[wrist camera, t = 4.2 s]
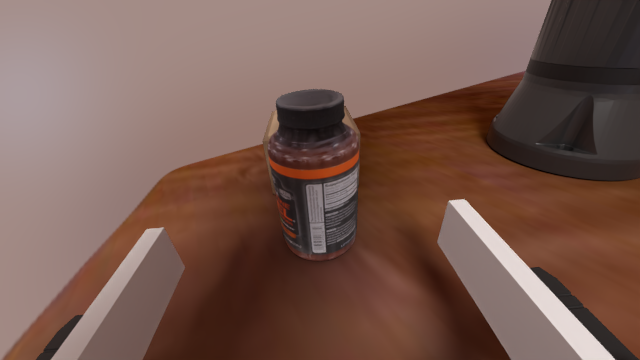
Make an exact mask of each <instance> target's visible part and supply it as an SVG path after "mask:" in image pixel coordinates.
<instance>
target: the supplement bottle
mask: <svg viewBox="0 0 640 360" xmlns="http://www.w3.org/2000/svg"><path fill="white" fill-rule="evenodd" d="M276 108H277V120H278V122H279V127H278V130H276V131H275V133H273V134H272V136H271V137H270V139H269V142H268V145H267V146H268V156H269V161H270V168H271V174H272V178H273V184H274V188H275V193H276V199H277V204H278V210H279V215H280V219H281V225H282V230H283V236H284V238H285V241H286V244H287V246H288V247H289V249H290V250H291V251H292V252H293V253H295V254H296V255H297V256H299V257H301V258H303V259H306V260H312V261H325V260H330V259H334V258H336V257H338V256H341V255H342V254H344V253H345V252H346V251H347V250H349V248H350V247H351V246H352V244H353V243H354V241H355V237H356V229H357V206H358V176H359V140H358V136H357V134H356V132H355V131H354V130H353V129H352V128H351V127H350V126H348V125H347V124H344V123H343V122H342V120H343V119H344V117H345V112H344V97H343V95H342V94H341V93H339V92H335V91H331V90H323V89H319V90H318V89H311V90H302V91H296V92H292V93H288V94H285V95H282V96H281V97H279V98H278V99H277V101H276Z"/></svg>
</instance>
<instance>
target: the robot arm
mask: <svg viewBox="0 0 640 360" xmlns="http://www.w3.org/2000/svg"><path fill="white" fill-rule="evenodd" d="M486 140H487V143H488V144H489V145H490V147H492V148H493V149H494V150H495V151H497V152H498V153H500V154H501V155H503V156H505V157H507V158H509V159H511V160H513V161H516V162H518V163H521V164H523V165H526V166H529V167H532V168H536V169H539V170H542V171H546V172H550V173H555V174H559V175H564V176H570V177H576V178H583V179H592V180H607V181H617V180H631V179H637V178H640V0H552V1H551V4H550V6H549V9H548V12H547V14H546V17H545V20H544V23H543V25H542V28H541V31H540V33H539V36H538V39H537V42H536V44H535V47H534V50H533V52H532V55H531V58H530V61H529V64H528V67H527V69H526V72H525V75H524V77H523V79H522V81H521V82H520V84H519V85H518V87H517V88H516V89H515V91H514V92H513V94H512V95H511V97H510V98H509V99H508V101H507V102H506V104H505V105H504V107H503V109H502V110H501V112H500V113H499V114H498V115H496V117H495V118H494V119H493V120H492V122H491V124H490V127H489V131H488V134H487V137H486ZM437 243H438V245H439V246H440V248H441V249H442V251H443V252H444V254H445V256H446V257H447V259H448V260H449V262H450V264H451V265H452V267H453V268H454V270H455V271H456V273H457V275H458V276H459V278H460V279H461V281H462V283H463V284H464V286H465V287H466V289H467V290H468V292H469V294H470V295H471V297H472V298H473V300H474V302H475V303H476V305H477V306H478V308H479V309H480V311H481V313H482V314H483V316H484V317H485V319H486V321H487V322H488V324H489V325H490V327H491V328H492V330H493V332H494V333H495V335H496V336H497V338H498V340H499V341H500V343H501V344H502V346H503V347H504V349H505V351H506V352H507V354H508V355H509V357H510V359H511V360H639V359H638V358H637V357H636V356H634V355H633V354H632V353H631V352H630V351H629V350H628V349H627V348H626V347H625V346H624V345H623V344H622V343H621V342H620V341H619V340H618V339H617V338H616V337H615V336H614V335H613V334H612V333H611V332H610V331H609V330H608V329H607V328H606V327H605V326H604V325H603V324H602V323H601V322H600V321H599V320H598V319H597V318H596V317H595V316H594V315H593V314H592V313H591V312H590V311H589V310H588V309H587V308H584V307H583V304H582V303H581V302H580V301H579V300H578V299H577V298H576V297H575V296H572V295H571V292H570V291H569V290H568V289H567V288H566V287H565V286H564V285H563V284H562V283H561V282H560V281H559V280H558V279H557V278H555V277H554V276H552V275H551V274H549V273H547V272H546V271H544V270H543V269H541V268H540V267H535V268H529V267H528V266H527V265H526V264H525V263H524V262H523V261H522V260H521V259H520V258H519V257H518V256H517V254H516V253H515V252H514V251H513V250H512V249H511V248H510V247H509V246H508V245H507V244H506V243H505V242H504V241H503V240H502V238H501V237H500V236H499V235H498V234H497V233H496V232H495V231H494V230H493V229H492V228H491V227H490V226H489V225H488V224H487V223H486V221H485V220H484V219H483V218H482V217H481V216H480V215H479V214H478V213H477V212H476V211H475V210H474V209H473V208H472V207H471V206H470V204H469V203H468V202H467V201H466V200H465V199H463V200H452V201H448V205H447V209H446V212H445V216H444V220H443V223H442V227H441V231H440V234H439V238H438V242H437ZM184 269H185V266H184V264H183V262H182V261H181V259H180V257H179V255H178V253H177V251H176V249H175V247H174V246H173V244H172V242H171V240H170V238H169V236H168V234H167V233H166V231H165V229H164V228H154V229H146V231H145V232H144V233H143V235H142V236H141V238H140V239H139V240H138V242H137V243H136V244H135V246H134V247H133V248H132V250H131V251H130V253H129V254H128V255H127V257H126V258H125V259H124V261H123V262H122V263H121V265H120V266H119V268H118V269H117V270H116V272H115V273H114V274H113V276H112V277H111V278H110V280H109V281H108V283H107V284H106V285H105V287H104V288H103V289H102V291H101V292H100V293H99V295H98V296H97V298H96V299H95V300H94V302H93V303H92V304H91V306H90V307H89V308H88V310H87V311H86V312H85V314H84V315H77V316H75V317H74V318H73V319H71V320H70V321H69V322H68V323H67V324H66V325H65V326H64V327H62V328H61V329H60V330H59V331H58V332H57V333H56V335H55V336H54V337H53V338H52V340H51V341H50V342H49V344H48V345H47V346H46V347H45V349H44V352H43V353H41V354H40V355H39V356H38V358H37V359H36V360H143V358H144V356H145V353H146V351H147V349H148V347H149V345H150V343H151V340H152V338H153V336H154V334H155V332H156V330H157V327H158V325H159V323H160V321H161V319H162V317H163V314H164V312H165V310H166V308H167V306H168V304H169V301H170V299H171V297H172V295H173V293H174V291H175V288H176V286H177V284H178V282H179V280H180V278H181V276H182V273H183V271H184Z"/></svg>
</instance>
